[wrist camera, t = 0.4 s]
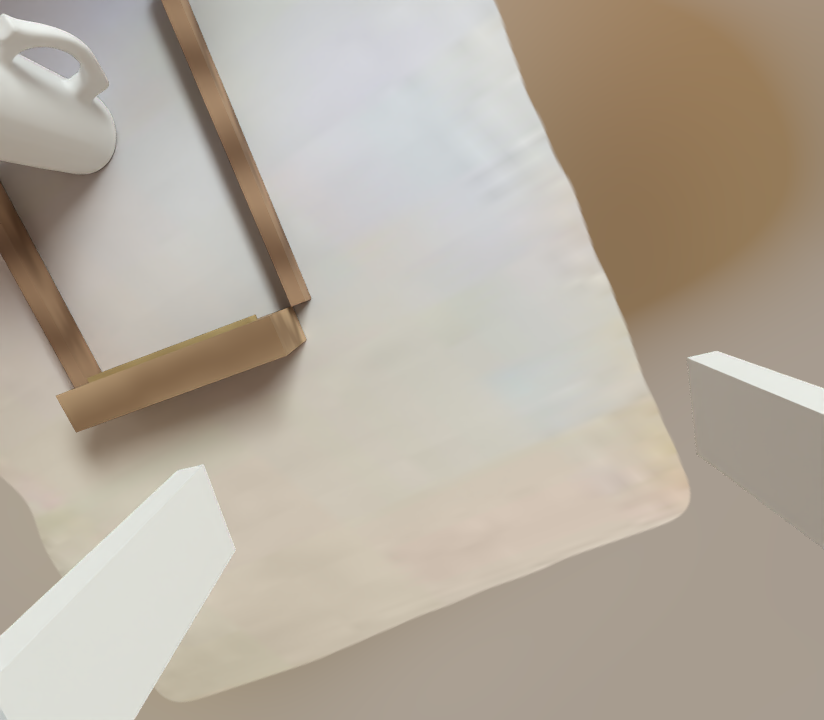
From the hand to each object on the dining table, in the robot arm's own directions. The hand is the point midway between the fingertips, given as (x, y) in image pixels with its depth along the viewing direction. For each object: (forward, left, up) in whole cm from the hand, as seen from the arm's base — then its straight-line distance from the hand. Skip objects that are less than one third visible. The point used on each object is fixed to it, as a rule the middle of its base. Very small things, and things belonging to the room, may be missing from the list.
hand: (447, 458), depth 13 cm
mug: (-23, -19, -27) cm, 40 cm away
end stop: (-3, -19, -26) cm, 32 cm away
